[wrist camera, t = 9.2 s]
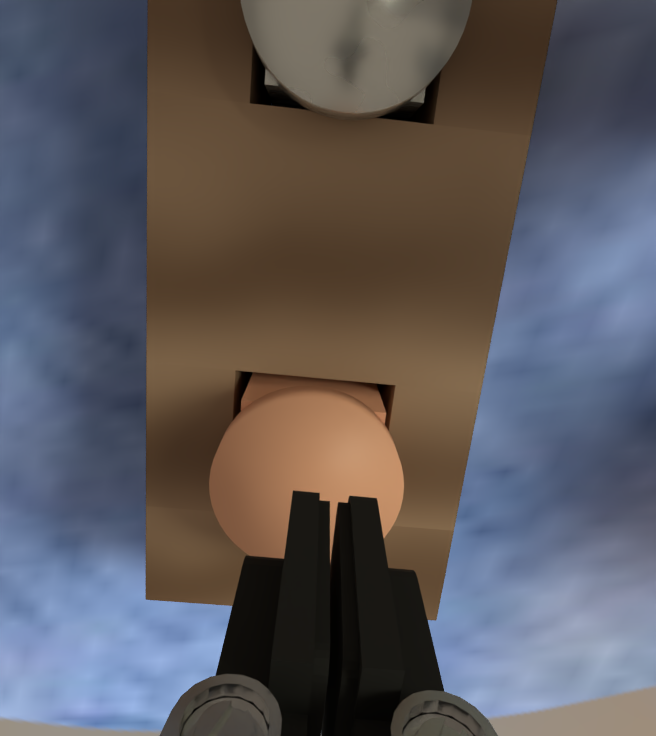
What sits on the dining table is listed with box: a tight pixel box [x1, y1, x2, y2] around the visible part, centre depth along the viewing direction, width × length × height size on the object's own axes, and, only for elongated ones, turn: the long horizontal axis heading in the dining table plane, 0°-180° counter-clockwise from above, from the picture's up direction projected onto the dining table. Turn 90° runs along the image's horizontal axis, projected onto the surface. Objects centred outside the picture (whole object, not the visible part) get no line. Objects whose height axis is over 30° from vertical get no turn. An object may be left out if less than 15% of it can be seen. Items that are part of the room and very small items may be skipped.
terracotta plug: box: [209, 372, 404, 562], centre depth 17 cm, size 5×5×6 cm
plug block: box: [146, 0, 557, 620], centre depth 17 cm, size 24×10×5 cm, turn 174°
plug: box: [241, 0, 472, 121], centre depth 14 cm, size 5×5×6 cm
